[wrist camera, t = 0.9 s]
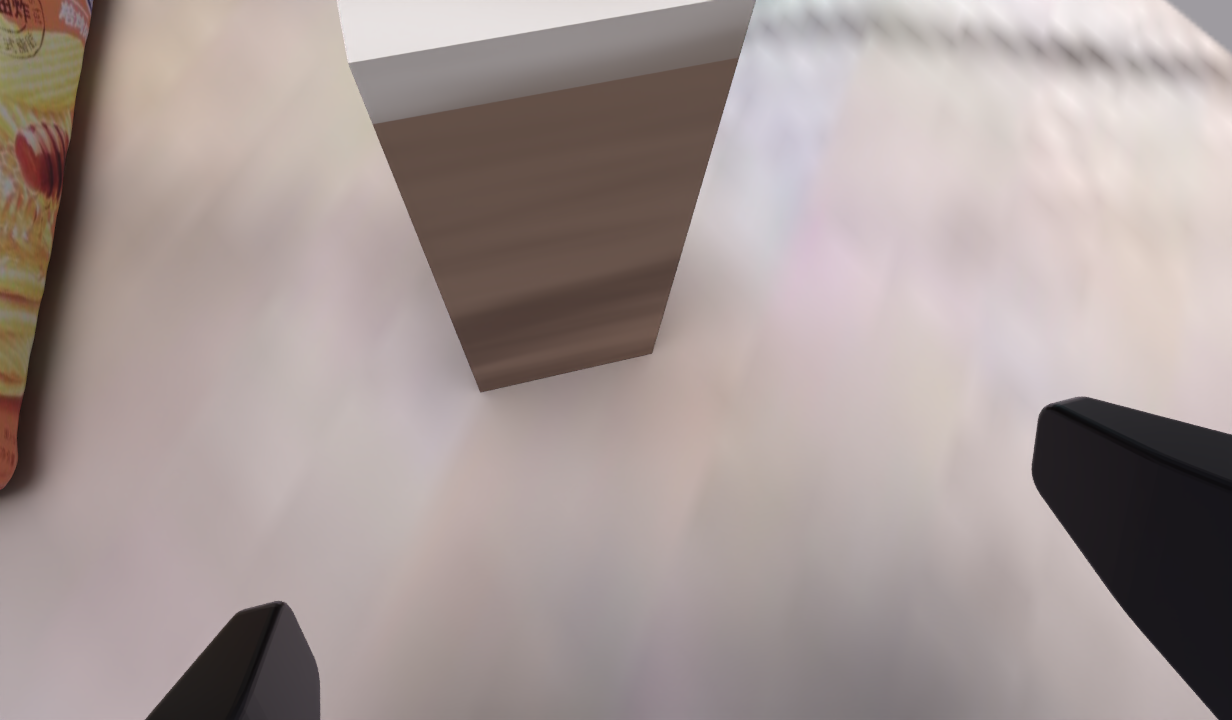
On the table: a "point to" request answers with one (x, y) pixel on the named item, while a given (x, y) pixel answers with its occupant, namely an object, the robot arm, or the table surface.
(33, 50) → the snack package
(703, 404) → the table surface
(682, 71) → the walnut block
